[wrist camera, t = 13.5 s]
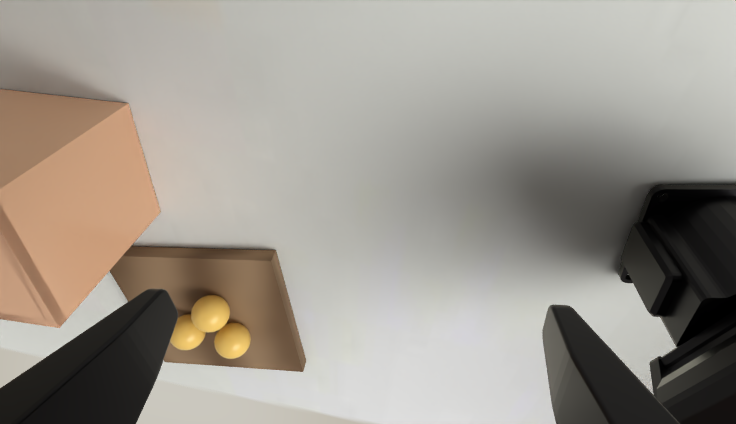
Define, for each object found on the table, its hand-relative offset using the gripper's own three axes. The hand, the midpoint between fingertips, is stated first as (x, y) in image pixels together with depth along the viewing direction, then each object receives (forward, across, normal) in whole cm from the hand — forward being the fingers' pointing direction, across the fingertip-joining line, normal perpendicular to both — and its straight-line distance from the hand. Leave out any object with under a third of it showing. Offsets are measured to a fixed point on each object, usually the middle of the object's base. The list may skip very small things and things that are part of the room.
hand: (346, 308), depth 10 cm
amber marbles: (+12, +14, +16) cm, 24 cm away
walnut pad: (+13, +14, +16) cm, 25 cm away
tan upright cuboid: (+13, +18, +3) cm, 22 cm away
